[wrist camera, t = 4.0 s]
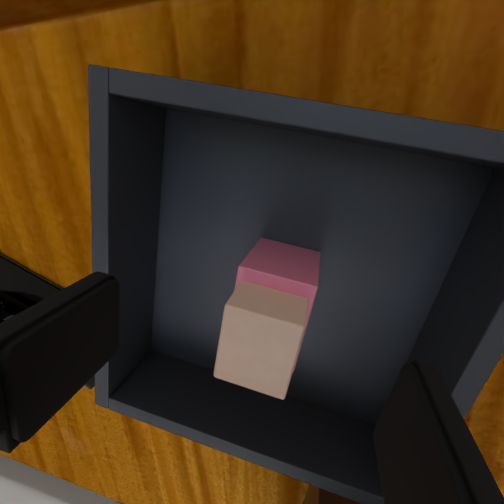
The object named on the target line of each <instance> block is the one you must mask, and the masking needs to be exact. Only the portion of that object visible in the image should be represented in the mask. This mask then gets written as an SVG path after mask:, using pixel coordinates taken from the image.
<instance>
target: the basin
mask: <svg viewBox="0 0 504 504" xmlns="http://www.w3.org/2000/svg"><path fill="white" fill-rule="evenodd" d="M88 86H89V132H90V178H91V224H92V269H93V273H94V272H97V271H99V272H103V273H106V274H110V275H113V276H115V278H116V281H118V282H119V285H120V293H119V347H118V350H117V352H116V354H115V355H114V356H113V357H112V358H111V359H110V360H109V361H108V362H107V363H106V364H105V365H104V366H103V367H102V368H101V369H100V370H99V371H98V372H97V373H96V374H95V403H96V404H97V405H99V406H102V407H105V408H109V409H110V410H113V411H115V412H118V413H121V414H123V415H126V416H129V417H131V418H134V419H137V420H139V421H142V422H145V423H147V424H150V425H153V426H155V427H158V428H161V429H163V430H166V431H169V432H171V433H174V434H177V435H180V436H182V437H185V438H188V439H190V440H193V441H196V442H198V443H201V444H204V445H206V446H209V447H212V448H214V449H217V450H220V451H222V452H225V453H228V454H230V455H233V456H236V457H238V458H241V459H244V460H247V461H249V462H252V463H255V464H257V465H260V466H263V467H265V468H268V469H271V470H273V471H276V472H279V473H281V474H284V475H287V476H289V477H292V478H295V479H297V480H300V481H303V482H305V483H308V484H311V485H314V486H316V487H319V488H322V489H324V490H327V491H330V492H332V493H335V494H338V495H340V496H343V497H346V498H348V499H351V500H354V501H356V502H359V503H362V504H384V499H383V493H382V487H381V481H380V475H379V469H378V463H377V457H376V451H375V445H374V429H375V426H376V423H377V421H378V419H379V417H380V415H381V413H382V410H383V408H384V406H385V404H386V402H387V399H388V397H389V395H390V393H391V391H392V388H393V386H394V384H395V382H396V380H397V377H398V375H399V373H400V371H401V369H402V367H403V365H404V364H405V363H408V364H410V363H411V362H412V361H413V360H416V361H420V362H423V363H427V364H430V365H434V366H436V367H437V369H438V370H439V372H440V374H441V376H442V378H443V380H444V382H445V384H446V386H447V388H448V390H449V392H450V394H451V396H452V398H453V400H454V402H455V404H456V405H457V407H458V409H459V411H460V413H461V415H462V417H463V419H464V418H465V416H466V415H467V413H468V411H469V410H470V408H471V406H472V405H473V403H474V401H475V400H476V398H477V396H478V395H479V393H480V391H481V390H482V388H483V386H484V384H485V383H486V381H487V379H488V378H489V376H490V374H491V373H492V371H493V369H494V368H495V366H496V364H497V363H498V361H499V359H500V358H501V356H502V354H503V353H504V131H499V130H493V129H487V128H481V127H475V126H469V125H462V124H456V123H450V122H444V121H438V120H432V119H425V118H419V117H413V116H407V115H401V114H394V113H388V112H382V111H376V110H370V109H364V108H357V107H351V106H345V105H339V104H333V103H327V102H320V101H314V100H308V99H302V98H296V97H290V96H283V95H277V94H271V93H265V92H259V91H252V90H246V89H240V88H234V87H228V86H222V85H215V84H209V83H203V82H197V81H191V80H185V79H178V78H172V77H166V76H160V75H154V74H148V73H141V72H135V71H129V70H123V69H117V68H109V67H104V66H98V65H92V64H89V65H88ZM260 238H265V239H269V240H273V241H277V242H282V243H286V244H290V245H294V246H298V247H302V248H306V249H310V250H314V251H318V252H320V253H321V254H320V267H319V280H318V289H317V293H316V296H315V300H314V303H313V307H312V310H311V314H310V317H309V321H308V324H307V328H306V331H305V335H304V338H303V342H302V345H301V349H300V352H299V355H298V359H297V362H296V366H295V369H294V372H293V373H292V376H291V380H290V383H289V387H288V390H287V394H286V397H285V399H284V400H282V399H279V398H276V397H273V396H270V395H267V394H264V393H261V392H258V391H255V390H252V389H249V388H246V387H243V386H240V385H237V384H234V383H231V382H228V381H225V380H222V379H219V378H216V377H214V375H213V374H214V367H215V361H216V355H217V349H218V343H219V337H220V331H221V324H222V318H223V312H224V306H225V304H226V303H227V301H228V300H229V298H230V297H231V295H232V294H233V292H234V289H235V284H236V278H237V272H238V267H239V265H240V264H241V263H242V261H243V260H244V259H245V258H246V256H247V255H248V254H249V252H250V251H251V250H252V248H253V247H254V246H255V245H256V243H257V242H258V241H259V239H260Z"/></svg>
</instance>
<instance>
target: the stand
mask: <svg viewBox="0 0 504 504" xmlns="http://www.w3.org/2000/svg"><path fill="white" fill-rule="evenodd" d="M303 504H362V503H359V502H356V501H354V500H351V499H348V498H346V497H343V496H340V495H338V494H335V493H332V492H330V491H327V490H324V489H322V488H319V487H316V486H314V485H311V484H310V486H309V489H308V491H307V494H306V497H305V499H304V502H303Z"/></svg>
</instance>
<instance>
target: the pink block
mask: <svg viewBox="0 0 504 504" xmlns="http://www.w3.org/2000/svg"><path fill="white" fill-rule="evenodd" d="M320 254H321V253H320V252H318V251H314V250H310V249H306V248H302V247H298V246H294V245H290V244H286V243H282V242H277V241H273V240H269V239H265V238H260V239H259V241H258V242H257V243H256V245H255V246H254V247H253V248H252V250H251V251H250V252H249V254H248V255H247V256H246V258H245V259H244V260H243V261H242V263H241V264H240V265H239V267H238V272H237V278H236V284H235V289H234V292H233V294H232V295H231V297H230V298H229V300H228V301H227V303H226V304H225V306H224V312H223V318H222V324H221V331H220V337H219V343H218V349H217V355H216V361H215V367H214V374H213V375H214V377H216V378H219V379H222V380H225V381H228V382H231V383H234V384H237V385H240V386H243V387H246V388H249V389H252V390H255V391H258V392H261V393H264V394H267V395H270V396H273V397H276V398H279V399H282V400H284V399H285V397H286V394H287V390H288V387H289V383H290V380H291V376H292V373H293V372H294V369H295V366H296V362H297V359H298V355H299V352H300V349H301V345H302V342H303V338H304V335H305V331H306V328H307V324H308V321H309V317H310V314H311V310H312V307H313V303H314V300H315V296H316V293H317V289H318V280H319V267H320Z"/></svg>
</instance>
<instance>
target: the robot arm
mask: <svg viewBox="0 0 504 504" xmlns="http://www.w3.org/2000/svg"><path fill="white" fill-rule="evenodd" d="M119 293H120V285H119V282H118V281H116V278H115V276H113V275H110V274H106V273H103V272H99V271H97V272H94V273H92V274H90V275H88V276H87V277H85V278H83V279H81V280H79V281H77V282H75V283H74V284H72V285H70V286H68V287H66V288H64V289H63V290H61V291H59V292H57V293H55V294H53V295H52V296H50V297H48V298H46V299H44V300H42V301H40V302H39V303H37V304H35V305H33V306H31V307H29V308H28V309H26V310H24V311H22V312H20V313H18V314H17V315H15V316H13V317H11V318H9V319H7V320H5V321H4V322H2V323H0V450H2V451H5V452H7V453H10V452H11V451H12V450H13V449H14V448H15V447H16V446H18V445H19V444H20V443H21V442H25V441H27V440H29V439H30V438H31V437H32V436H33V435H34V434H35V433H36V432H37V431H38V430H39V429H40V428H41V427H42V426H43V425H44V424H45V423H46V422H47V421H48V420H49V419H50V418H51V417H52V416H53V415H54V414H55V413H56V412H57V411H58V410H59V409H60V408H61V407H63V406H64V405H65V404H66V403H67V402H68V401H69V400H70V399H71V398H72V397H73V396H74V395H75V394H76V393H77V392H78V391H79V390H80V389H81V388H82V387H83V386H84V385H85V384H86V383H87V382H88V381H89V380H90V379H91V378H92V377H93V376H94V375H95V374H96V373H97V372H98V371H99V370H100V369H101V368H102V367H103V366H104V365H105V364H106V363H107V362H108V361H109V360H110V359H111V358H112V357H113V356H114V355H115V354H116V352H117V350H118V347H119ZM374 445H375V451H376V457H377V463H378V469H379V475H380V481H381V487H382V493H383V499H384V504H504V497H503V495H502V493H501V492H500V490H499V488H498V486H497V484H496V482H495V480H494V478H493V476H492V474H491V472H490V470H489V468H488V466H487V464H486V462H485V460H484V458H483V456H482V454H481V452H480V450H479V448H478V447H477V445H476V443H475V441H474V439H473V437H472V435H471V433H470V431H469V429H468V427H467V425H466V423H465V421H464V419H463V417H462V415H461V413H460V411H459V409H458V407H457V405H456V404H455V402H454V400H453V398H452V396H451V394H450V392H449V390H448V388H447V386H446V384H445V382H444V380H443V378H442V376H441V374H440V372H439V370H438V369H437V367H436V366H434V365H430V364H427V363H423V362H420V361H416V360H413V361H412V362H411V363H410V364H408V363H405V364H404V365H403V367H402V369H401V371H400V373H399V375H398V377H397V380H396V382H395V384H394V386H393V388H392V391H391V393H390V395H389V397H388V399H387V402H386V404H385V406H384V408H383V410H382V413H381V415H380V417H379V419H378V421H377V423H376V426H375V429H374ZM0 504H122V503H120V502H117V501H115V500H112V499H110V498H107V497H105V496H102V495H100V494H97V493H95V492H93V491H90V490H88V489H85V488H83V487H80V486H78V485H75V484H73V483H70V482H68V481H65V480H63V479H60V478H58V477H55V476H53V475H50V474H48V473H45V472H43V471H40V470H38V469H35V468H33V467H30V466H28V465H25V464H23V463H20V462H18V461H15V460H13V459H10V458H8V457H5V456H3V455H0Z"/></svg>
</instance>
